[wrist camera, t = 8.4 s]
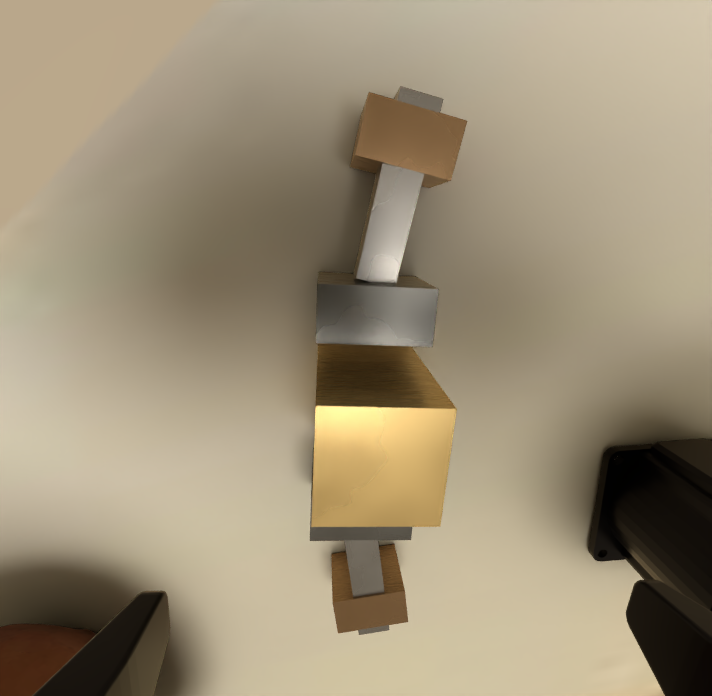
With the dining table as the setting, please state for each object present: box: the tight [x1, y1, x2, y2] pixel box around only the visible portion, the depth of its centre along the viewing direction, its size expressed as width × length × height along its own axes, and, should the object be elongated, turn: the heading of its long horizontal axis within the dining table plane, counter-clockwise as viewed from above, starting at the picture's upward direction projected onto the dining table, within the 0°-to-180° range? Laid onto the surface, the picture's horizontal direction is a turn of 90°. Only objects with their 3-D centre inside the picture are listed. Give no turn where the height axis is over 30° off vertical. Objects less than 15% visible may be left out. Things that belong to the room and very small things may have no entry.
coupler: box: [311, 343, 457, 527], centre depth 15 cm, size 4×4×6 cm
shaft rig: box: [310, 86, 467, 635], centre depth 17 cm, size 22×4×4 cm, turn 177°
